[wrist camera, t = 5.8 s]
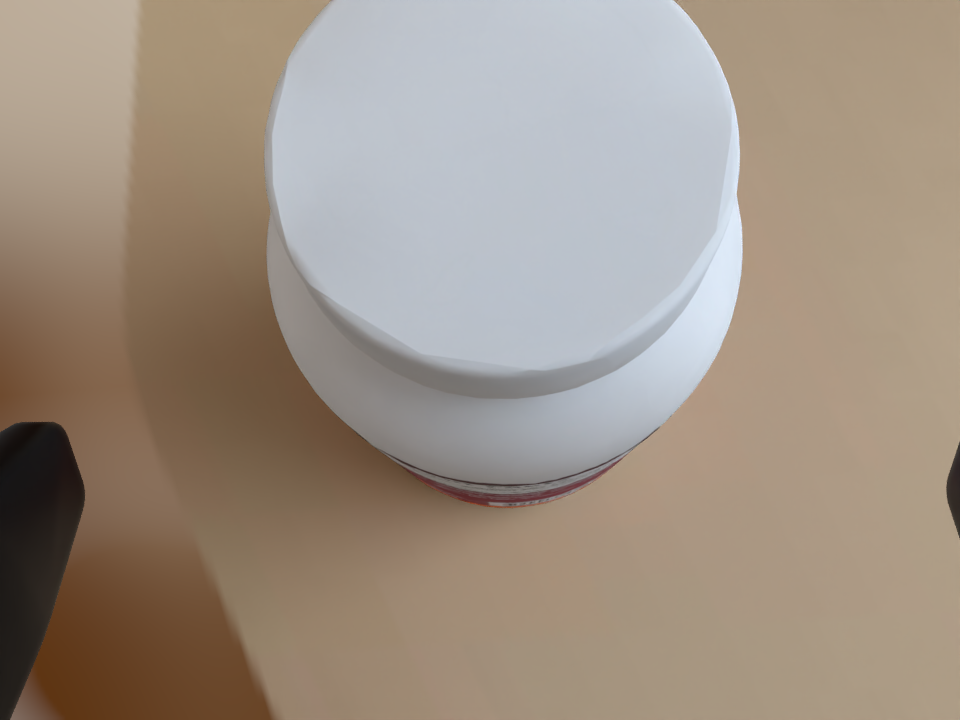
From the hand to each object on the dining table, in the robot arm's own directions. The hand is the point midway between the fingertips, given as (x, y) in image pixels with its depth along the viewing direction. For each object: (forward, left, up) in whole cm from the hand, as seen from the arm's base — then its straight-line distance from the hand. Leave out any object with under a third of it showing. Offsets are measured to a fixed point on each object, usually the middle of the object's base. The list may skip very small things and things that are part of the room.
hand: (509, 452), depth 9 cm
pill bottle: (+1, +3, -10) cm, 11 cm away
